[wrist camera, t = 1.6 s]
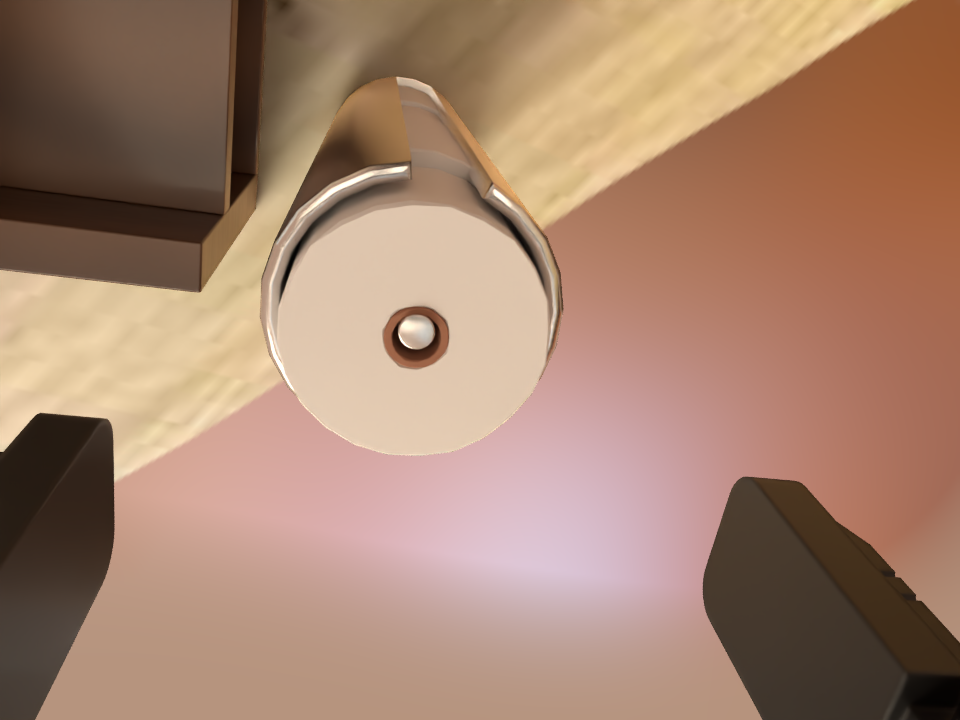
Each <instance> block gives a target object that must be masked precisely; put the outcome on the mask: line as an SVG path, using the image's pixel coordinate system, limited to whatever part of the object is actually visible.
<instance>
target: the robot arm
mask: <svg viewBox="0 0 960 720" xmlns="http://www.w3.org/2000/svg"><path fill="white" fill-rule="evenodd" d="M113 542H114V456H113V431H112V426H111V424H110V422H109V420H108V419H103V418H92V417H81V416H69V415H58V414H47V413H39V414H37V415H36V416H35V417H34V418H33V419H32V420H31V421H30V422H29V423H28V424H27V426H26V427H25V428H24V429H23V430H22V431H21V432H20V434H19V435H18V436H17V437H16V438H15V439H14V440H13V442H12V443H11V444H10V445H9V446H8V447H7V448H6V450H5V451H4V452H0V720H35V719H36V717H37V715H38V713H39V711H40V709H41V707H42V705H43V703H44V701H45V699H46V697H47V694H48V693H49V691H50V689H51V686H52V684H53V683H54V680H55V679H56V677H57V674H58V672H59V670H60V668H61V666H62V664H63V662H64V660H65V658H66V656H67V654H68V652H69V650H70V648H71V646H72V644H73V642H74V640H75V638H76V636H77V634H78V632H79V630H80V628H81V626H82V624H83V622H84V620H85V618H86V616H87V614H88V612H89V610H90V608H91V606H92V604H93V602H94V600H95V598H96V596H97V594H98V592H99V590H100V588H101V586H102V584H103V581H104V579H105V576H106V574H107V570H108V567H109V563H110V559H111V554H112V548H113ZM703 599H704V606H705V610H706V613H707V616H708V618H709V620H710V622H711V624H712V626H713V628H714V630H715V632H716V633H717V635H718V637H719V639H720V641H721V643H722V645H723V647H724V648H725V650H726V652H727V654H728V656H729V658H730V660H731V661H732V663H733V665H734V667H735V669H736V671H737V673H738V675H739V676H740V678H741V680H742V682H743V684H744V686H745V688H746V690H747V691H748V693H749V695H750V697H751V699H752V701H753V702H754V704H755V706H756V708H757V710H758V712H759V714H760V716H761V718H762V719H763V720H960V643H959V641H958V640H957V639H956V638H955V637H954V636H953V635H952V634H951V633H950V632H949V630H948V629H947V628H946V627H945V626H944V625H943V624H942V623H941V622H940V621H939V620H938V618H937V617H936V616H935V615H934V614H933V613H932V612H931V611H930V610H929V609H928V608H927V606H926V605H925V604H924V603H923V602H922V601H916V594H915V593H914V592H913V591H912V590H911V589H910V588H909V587H908V586H907V585H906V584H905V583H904V581H903V580H902V579H901V578H898V577H895V571H894V570H893V569H892V568H891V567H890V566H889V565H888V564H887V563H886V562H885V561H884V559H883V558H882V557H881V556H880V555H879V554H878V553H877V552H876V551H875V550H874V549H873V547H872V546H871V545H870V544H868V543H867V542H865V541H864V540H862V539H861V538H859V537H858V536H857V535H855V534H854V533H852V532H851V531H849V530H848V529H847V528H845V527H843V526H842V525H841V524H839V523H838V522H836V521H835V520H834V518H833V517H832V516H831V515H830V514H829V513H828V512H827V511H826V509H825V508H824V507H823V506H822V505H821V504H820V503H819V501H818V500H817V499H816V498H815V497H814V496H813V495H812V494H811V493H810V491H809V490H808V489H807V488H806V487H805V486H804V485H803V484H802V483H800V482H797V481H790V480H778V479H767V478H755V477H742V478H741V479H739V480H738V481H737V482H736V483H735V484H734V486H733V488H732V490H731V492H730V495H729V498H728V501H727V504H726V507H725V510H724V513H723V516H722V520H721V523H720V526H719V529H718V532H717V535H716V538H715V541H714V544H713V547H712V550H711V553H710V556H709V559H708V563H707V566H706V569H705V573H704V578H703Z"/></svg>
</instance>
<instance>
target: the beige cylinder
mask: <svg viewBox="0 0 960 720" xmlns="http://www.w3.org/2000/svg"><path fill="white" fill-rule="evenodd" d="M562 314H563V299H562V286H561V274H560V270H559V268H558V265H557V262H556V260H555V257H554V254H553V251H552V249H551V246H550V243H549V241H548V238H547V236H546V235H545V234H544V232H543V231H542V229H541V228H540V227H539V225H538V224H537V223H536V221H535V220H534V218H533V217H532V216H531V214H530V213H529V212H528V210H527V209H526V208H525V206H524V205H523V203H522V202H521V201H520V199H519V198H518V197H517V195H516V194H515V193H514V191H513V190H512V188H511V187H510V186H509V184H508V183H507V182H506V180H505V179H504V178H503V176H502V175H501V173H500V172H499V171H498V169H497V168H496V167H495V165H494V164H493V163H492V161H491V160H490V158H489V157H488V156H487V154H486V153H485V152H484V150H483V149H482V148H481V146H480V145H479V143H478V142H477V141H476V139H475V138H474V137H473V135H472V134H471V132H470V131H469V130H468V128H467V127H466V126H465V124H464V123H463V122H462V120H461V119H460V117H459V116H458V115H457V113H456V112H455V111H454V109H453V108H452V107H451V105H450V104H449V102H448V101H447V100H446V98H445V97H443V96H442V95H441V94H440V93H439V92H437V91H436V90H435V89H434V88H432V87H431V86H429V85H427V84H424V83H422V82H420V81H418V80H415V79H411V78H404V77H397V76H395V77H387V78H380V79H376V80H374V81H372V82H369V83H367V84H365V85H362V86H361V87H360V88H358V89H357V90H356V91H355V92H353V93H352V94H351V95H350V96H349V97H347V99H346V100H345V102H344V103H343V105H342V106H341V108H340V109H339V110H338V112H337V114H336V116H335V118H334V120H333V122H332V124H331V126H330V128H329V130H328V132H327V134H326V136H325V138H324V140H323V142H322V144H321V147H320V149H319V151H318V153H317V155H316V157H315V159H314V161H313V163H312V165H311V167H310V169H309V171H308V173H307V175H306V177H305V179H304V181H303V183H302V186H301V188H300V190H299V192H298V194H297V196H296V198H295V200H294V202H293V204H292V206H291V208H290V210H289V212H288V214H287V216H286V218H285V220H284V222H283V224H282V227H281V229H280V231H279V233H278V235H277V237H276V239H275V241H274V244H273V247H272V250H271V252H270V255H269V258H268V261H267V264H266V267H265V270H264V273H263V276H262V281H261V305H260V319H261V323H262V327H263V331H264V335H265V339H266V344H267V348H268V352H269V355H270V357H271V359H272V360H273V362H274V364H275V366H276V367H277V369H278V371H279V373H280V374H281V376H282V378H283V380H284V381H285V383H286V385H287V387H288V388H289V389H290V390H291V391H292V392H293V393H294V394H295V395H296V396H297V397H298V398H299V400H300V402H301V404H302V405H303V406H304V407H305V408H306V409H307V410H308V411H309V412H310V413H312V415H313V416H314V417H315V418H316V419H318V421H319V422H320V423H321V424H323V426H324V427H326V428H327V429H329V430H331V431H332V432H334V433H336V434H337V435H339V436H341V437H342V438H344V439H346V440H347V441H349V442H351V443H352V444H354V445H357V446H361V447H364V448H367V449H371V450H374V451H377V452H380V453H383V454H390V455H411V456H422V455H431V454H439V453H446V452H453V451H456V450H458V449H460V448H463V447H465V446H467V445H469V444H472V443H474V442H476V441H478V440H481V439H483V438H485V437H486V436H487V435H489V434H490V433H491V432H493V431H494V430H495V429H497V428H498V427H499V426H501V425H502V424H503V423H504V422H506V421H507V420H508V419H510V418H511V417H512V416H513V414H514V413H515V412H516V411H517V410H518V409H519V408H520V407H521V406H522V404H523V403H524V402H525V401H526V400H527V399H528V398H529V397H530V396H531V394H532V392H533V390H534V388H535V386H536V384H537V382H538V381H539V380H540V379H541V377H542V375H543V373H544V370H545V368H546V366H547V364H548V362H549V360H550V358H551V356H552V354H553V352H554V350H555V348H556V345H557V340H558V335H559V330H560V324H561V319H562Z"/></svg>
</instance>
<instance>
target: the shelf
mask: <svg viewBox="0 0 960 720" xmlns="http://www.w3.org/2000/svg"><path fill="white" fill-rule="evenodd" d="M267 1H268V0H0V270H6V271H15V272H24V273H33V274H41V275H50V276H59V277H68V278H76V279H85V280H94V281H102V282H111V283H120V284H129V285H137V286H146V287H155V288H164V289H172V290H181V291H190V292H201V291H202V289H203V287H204V286H205V284H206V283H207V281H208V280H209V278H210V277H211V275H212V274H213V272H214V271H215V269H216V268H217V266H218V265H219V263H220V262H221V260H222V259H223V257H224V256H225V254H226V253H227V251H228V250H229V248H230V247H231V245H232V244H233V242H234V241H235V239H236V238H237V236H238V235H239V233H240V232H241V230H242V229H243V227H244V226H245V224H246V223H247V221H248V220H249V218H250V217H251V215H252V214H253V212H254V211H255V209H256V199H257V181H258V174H257V172H258V163H259V145H260V127H261V109H262V91H263V73H264V55H265V37H266V19H267Z"/></svg>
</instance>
